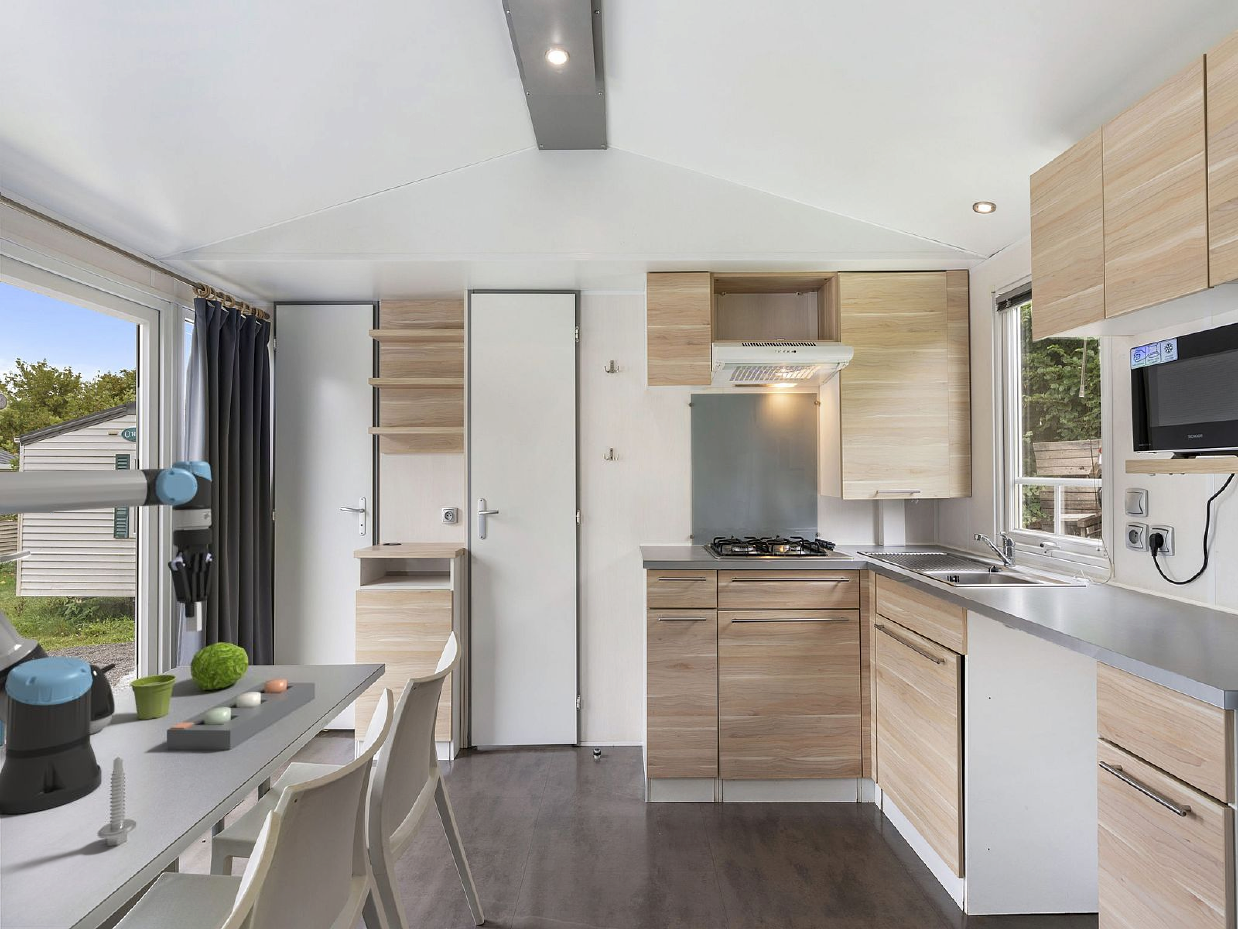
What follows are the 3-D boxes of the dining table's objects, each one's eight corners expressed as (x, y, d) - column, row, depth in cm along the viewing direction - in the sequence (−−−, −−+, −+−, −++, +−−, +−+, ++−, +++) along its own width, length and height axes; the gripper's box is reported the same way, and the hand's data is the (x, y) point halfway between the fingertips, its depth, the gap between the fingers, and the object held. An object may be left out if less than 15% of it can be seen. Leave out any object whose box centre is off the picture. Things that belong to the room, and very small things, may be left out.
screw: (109, 835, 105) (142, 832, 106) (89, 851, 100) (125, 848, 101) (110, 752, 106) (143, 750, 106) (91, 764, 101) (126, 762, 101)
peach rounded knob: (279, 699, 165) (279, 684, 165) (260, 699, 165) (260, 684, 166) (290, 693, 170) (290, 678, 170) (271, 693, 170) (271, 678, 171)
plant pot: (185, 709, 166) (186, 674, 166) (155, 723, 156) (156, 686, 157) (151, 709, 167) (151, 674, 167) (119, 722, 157) (119, 685, 157)
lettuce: (265, 650, 202) (223, 629, 199) (251, 659, 181) (203, 635, 179) (238, 690, 198) (195, 668, 196) (220, 704, 178) (171, 680, 175)
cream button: (252, 714, 154) (252, 698, 154) (231, 714, 154) (231, 698, 155) (265, 707, 159) (265, 692, 159) (245, 707, 159) (245, 692, 160)
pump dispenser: (123, 729, 152) (124, 662, 153) (66, 744, 144) (67, 673, 144) (105, 721, 158) (106, 656, 159) (50, 735, 149) (51, 666, 150)
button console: (230, 749, 139) (230, 729, 139) (166, 749, 140) (166, 728, 140) (314, 698, 173) (314, 681, 173) (263, 698, 174) (263, 681, 174)
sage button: (220, 732, 143) (221, 715, 143) (198, 732, 144) (198, 714, 144) (235, 724, 148) (235, 707, 148) (214, 723, 148) (214, 707, 149)
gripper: (187, 530, 146) (189, 637, 146) (226, 525, 159) (228, 624, 159) (155, 530, 147) (156, 637, 146) (196, 526, 160) (198, 624, 159)
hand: (193, 630), depth 153 cm, fingers closed
